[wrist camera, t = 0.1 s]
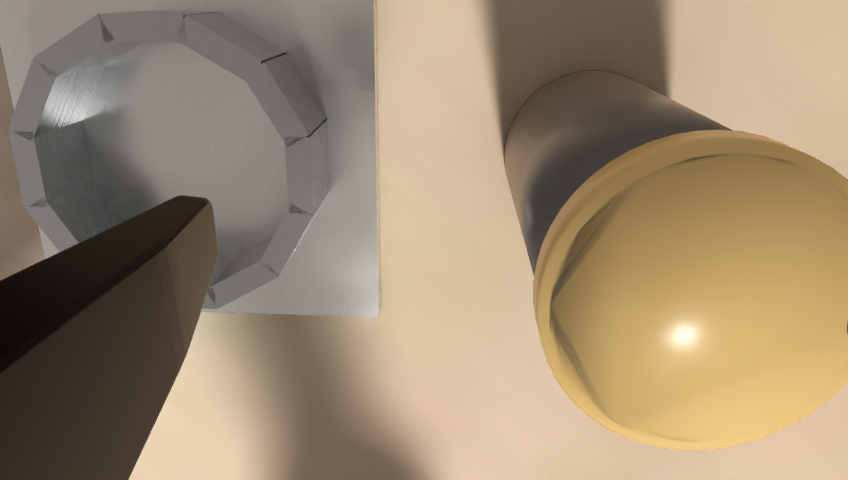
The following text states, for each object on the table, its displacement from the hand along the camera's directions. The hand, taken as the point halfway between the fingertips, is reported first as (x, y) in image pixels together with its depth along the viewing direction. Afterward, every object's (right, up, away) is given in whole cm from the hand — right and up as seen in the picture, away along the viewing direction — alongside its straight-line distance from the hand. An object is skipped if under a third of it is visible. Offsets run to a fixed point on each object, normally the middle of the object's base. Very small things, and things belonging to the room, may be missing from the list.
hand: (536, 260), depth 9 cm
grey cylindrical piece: (+4, +3, +15) cm, 16 cm away
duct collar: (-10, +4, +16) cm, 19 cm away
